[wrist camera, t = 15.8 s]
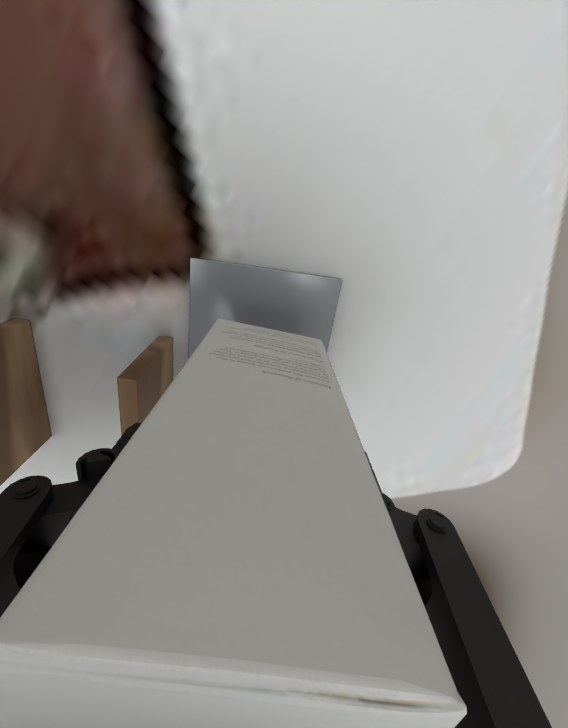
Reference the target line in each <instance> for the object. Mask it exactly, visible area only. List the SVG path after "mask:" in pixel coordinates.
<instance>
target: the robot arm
mask: <svg viewBox="0 0 568 728" xmlns="http://www.w3.org/2000/svg"><path fill="white" fill-rule="evenodd" d="M141 424H142V423H137V422H136V423H135V424H133V425H132V426H130V427H129V428H127V429H126V430H125V432H124V433H123V435H122V436H121V438H120V439H119V440H118V442H117V443H116V445H115V446H114V447H113V448H112V449H109V448H100V449H96V450H92V451H90V452H87V453H85V454H84V455H83V456H81V457H80V458H79V459H78V461H77V462H76V469H77V475H78V481H76V482H71V483H65V484H58V485H52V483H51V480H50V479H49V478H47V477H45V476H29V477H26V478H23V479H20V480H18V481H16V482H14V483H12V484H11V485H10V486H8V487H7V488H6V489H5V490H4V491H3V492H2V493H1V494H0V617H1V616H2V615H3V613H4V612H5V610H6V609H7V608H8V606H9V605H10V604H11V602H12V601H13V600H14V598H15V597H16V595H17V594H18V593H19V591H20V590H21V589H22V587H23V586H24V585H25V583H26V582H27V580H28V579H29V578H30V576H31V575H32V574H33V572H34V571H35V570H36V568H37V567H38V565H39V564H40V563H41V561H42V560H43V559H44V557H45V556H46V554H47V553H48V552H49V550H50V549H51V548H52V546H53V545H54V543H55V542H56V541H57V539H58V538H59V536H60V535H61V534H62V532H63V531H64V529H65V528H66V527H67V525H68V524H69V523H70V521H71V520H72V518H73V517H74V516H75V514H76V513H77V511H78V510H79V509H80V507H81V506H82V505H83V503H84V502H85V501H86V499H87V498H88V497H89V495H90V494H91V492H92V491H93V490H94V488H95V487H96V486H97V484H98V483H99V482H100V480H101V479H102V477H103V476H104V475H105V473H106V472H107V471H108V469H109V468H110V466H111V465H112V464H113V462H114V461H115V460H116V458H117V457H118V455H119V454H120V453H121V451H122V450H123V449H124V447H125V446H126V444H127V443H128V442H129V440H130V439H131V437H132V436H133V435H134V433H135V432H136V431H137V429H138V428H139V427H140V425H141ZM365 454H366V457H367V459H368V456H367V453H366V452H365ZM368 462H369V459H368ZM369 464H370V462H369ZM370 467H371V470H372V473H373V475H374V478H375V480H376V483H377V485H378V488H379V490H380V493H381V496H382V498H383V501H384V504H385V506H386V508H387V511H388V513H389V516H390V518H391V521H392V524H393V526H394V529H395V532H396V534H397V537H398V540H399V542H400V545H401V548H402V550H403V553H404V555H405V558H406V561H407V563H408V566H409V568H410V571H411V573H412V576H413V578H414V581H415V584H416V586H417V589H418V591H419V594H420V596H421V599H422V601H423V604H424V607H425V609H426V612H427V614H428V617H429V620H430V622H431V625H432V627H433V630H434V633H435V635H436V638H437V640H438V643H439V646H440V648H441V651H442V653H443V656H444V659H445V661H446V664H447V666H448V669H449V671H450V674H451V676H452V679H453V682H454V684H455V687H456V689H457V692H458V694H459V695H460V697H461V698H462V700H463V702H464V703H465V705H466V708H467V714H466V715H465V716H464V717H463V719H462V720H461V721H460V722H459V723H458V724H457V725H456V726H455V727H454V728H552V727H551V725H550V723H549V721H548V719H547V717H546V715H545V713H544V711H543V709H542V707H541V705H540V702H539V701H538V698H537V696H536V694H535V693H534V690H533V688H532V686H531V684H530V682H529V680H528V678H527V676H526V674H525V672H524V669H523V667H522V665H521V663H520V661H519V659H518V657H517V655H516V653H515V651H514V649H513V647H512V645H511V643H510V641H509V639H508V636H507V635H506V632H505V630H504V628H503V626H502V624H501V622H500V620H499V618H498V616H497V614H496V612H495V610H494V608H493V606H492V604H491V601H490V600H489V597H488V595H487V593H486V591H485V589H484V587H483V585H482V583H481V581H480V579H479V577H478V575H477V573H476V571H475V568H474V566H473V565H472V562H471V560H470V558H469V556H468V554H467V552H466V550H465V548H464V546H463V544H462V542H461V540H460V538H459V536H458V533H457V531H456V529H455V527H454V526H453V524H452V523H451V521H450V520H449V519H448V518H446V517H445V516H444V515H442V514H441V513H439V512H438V511H435V510H432V509H423V510H421V511H419V513H418V515H417V516H416V515H413V514H411V513H408V512H405V511H402V510H400V509H398V508H396V507H395V506H394V503H393V502H392V500H391V499H390V498H389V497H388V496H386V495H385V494H383V493H382V492H381V489H380V486H379V484H378V481H377V479H376V476H375V474H374V471H373V469H372V466H371V464H370Z"/></svg>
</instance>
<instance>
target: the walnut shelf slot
mask: <svg viewBox="0 0 568 728" xmlns="http://www.w3.org/2000/svg"><path fill="white" fill-rule="evenodd" d="M172 381H173V338H169V337H161V336H159V337H158V338H157V339H156V340H155V341H154V342H152V343H151V344H150V345H149V346H148V347H147V348H146V349H145V350H144V351H143V352H142V353H141V354H140V355H139V356H138V357H137V358H136V359H135V360H134V361H133V362H132V363H131V364H130V365H129V366H128V367H127V368H126V369H125V370H124V371H123V372H122V373H121V374H120V375H119V376H118V377H117V384H118V396H119V409H120V421H121V434H122V435H123V433H124V432H125V430H126V429H127V428H129V427H130V426H132V425H133V424H135V423H136V422H137V423H143V421H144V420H145V418H146V417H147V416H148V414H149V413H150V412H151V410H152V409H153V407H154V406H155V405H156V403H157V402H158V401H159V399H160V398H161V396H162V395H163V394H164V392H165V391H166V390H167V388H168V387H169V386H170V384H171V383H172ZM51 436H52V435H51V430H50V424H49V419H48V414H47V409H46V404H45V398H44V393H43V388H42V383H41V377H40V372H39V367H38V362H37V356H36V351H35V346H34V341H33V335H32V330H31V325H30V320H24V319H16V318H14V319H11V320H9V321H6V322H3V323H1V324H0V485H2V484H3V483H4V482H5V481H6V480H7V479H8V478H9V477H10V476H11V475H12V474H13V473H14V472H15V471H16V470H17V469H18V468H19V467H20V466H21V465H22V464H23V463H24V462H25V461H26V460H27V459H28V458H29V457H30V456H32V455H33V454H34V453H35V452H36V451H37V450H38V449H39V448H40V447H41V446H42V445H43V444H44V443H45V442H46V441H47V440H48V439H49V438H50V437H51Z"/></svg>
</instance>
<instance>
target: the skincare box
mask: <svg viewBox="0 0 568 728" xmlns="http://www.w3.org/2000/svg"><path fill="white" fill-rule="evenodd" d="M466 714H467V708H466V705H465V703H464V702H463V700H462V698H461V697H460V695H459V694H458V692H457V689H456V687H455V684H454V682H453V679H452V676H451V674H450V671H449V669H448V666H447V664H446V661H445V659H444V656H443V653H442V651H441V648H440V646H439V643H438V640H437V638H436V635H435V633H434V630H433V627H432V625H431V622H430V620H429V617H428V614H427V612H426V609H425V607H424V604H423V601H422V599H421V596H420V594H419V591H418V589H417V586H416V584H415V581H414V578H413V576H412V573H411V571H410V568H409V566H408V563H407V561H406V558H405V555H404V553H403V550H402V548H401V545H400V542H399V540H398V537H397V534H396V532H395V529H394V526H393V524H392V521H391V518H390V516H389V513H388V511H387V508H386V506H385V504H384V501H383V498H382V496H381V493H380V490H379V488H378V485H377V483H376V480H375V478H374V475H373V473H372V470H371V467H370V464H369V462H368V459H367V457H366V454H365V451H364V449H363V446H362V444H361V441H360V439H359V436H358V434H357V431H356V428H355V426H354V423H353V420H352V418H351V415H350V413H349V410H348V407H347V405H346V402H345V399H344V397H343V394H342V392H341V389H340V386H339V384H338V381H337V379H336V376H335V373H334V371H333V368H332V366H331V363H330V361H329V358H328V356H327V353H326V350H325V347H324V345H323V342H322V341H321V340H319V339H315V338H311V337H306V336H301V335H297V334H292V333H287V332H282V331H278V330H273V329H268V328H263V327H258V326H253V325H248V324H243V323H239V322H234V321H229V320H225V319H221V318H218V319H217V320H216V322H215V323H214V325H213V326H212V328H211V329H210V330H209V332H208V333H207V335H206V336H205V338H204V339H203V340H202V342H201V343H200V344H199V346H198V347H197V348H196V350H195V351H194V352H193V354H192V355H191V357H190V358H189V359H188V361H187V362H186V363H185V365H184V366H183V368H182V369H181V370H180V372H179V373H178V375H177V376H176V377H175V379H174V380H173V381H172V383H171V384H170V386H169V387H168V388H167V390H166V391H165V392H164V394H163V395H162V396H161V398H160V399H159V401H158V402H157V403H156V405H155V406H154V407H153V409H152V410H151V412H150V413H149V414H148V416H147V417H146V418H145V420H144V421H143V423H142V424H141V425H140V427H139V428H138V429H137V431H136V432H135V433H134V435H133V436H132V437H131V439H130V440H129V442H128V443H127V444H126V446H125V447H124V449H123V450H122V451H121V453H120V454H119V455H118V457H117V458H116V460H115V461H114V462H113V464H112V465H111V466H110V468H109V469H108V471H107V472H106V473H105V475H104V476H103V477H102V479H101V480H100V482H99V483H98V484H97V486H96V487H95V488H94V490H93V491H92V492H91V494H90V495H89V497H88V498H87V499H86V501H85V502H84V503H83V505H82V506H81V507H80V509H79V510H78V511H77V513H76V514H75V516H74V517H73V518H72V520H71V521H70V523H69V524H68V525H67V527H66V528H65V529H64V531H63V532H62V534H61V535H60V536H59V538H58V539H57V541H56V542H55V543H54V545H53V546H52V548H51V549H50V550H49V552H48V553H47V554H46V556H45V557H44V559H43V560H42V561H41V563H40V564H39V565H38V567H37V568H36V570H35V571H34V572H33V574H32V575H31V576H30V578H29V579H28V580H27V582H26V583H25V585H24V586H23V587H22V589H21V590H20V591H19V593H18V594H17V595H16V597H15V598H14V600H13V601H12V602H11V604H10V605H9V606H8V608H7V609H6V610H5V612H4V613H3V615H2V616H1V617H0V728H454V727H455V726H456V725H457V724H458V723H459V722H460V721H461V720H462V719H463V717H464V716H465V715H466Z"/></svg>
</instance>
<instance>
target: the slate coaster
mask: <svg viewBox="0 0 568 728" xmlns="http://www.w3.org/2000/svg"><path fill="white" fill-rule="evenodd" d="M341 284H342V279H339V278H332V277H325V276H318V275H312V274H305V273H298V272H291V271H284V270H277V269H271V268H264V267H257V266H250V265H243V264H237V263H230V262H223V261H216V260H209V259H202V258H196V257H191V261H190V305H189V348H188V359H189V358H190V357H191V355H192V354H193V352H194V351H195V350H196V348H197V347H198V346H199V344H200V343H201V342H202V340H203V339H204V338H205V336H206V335H207V333H208V332H209V330H210V329H211V328H212V326H213V325H214V323H215V322H216V320H217V319H218V318H221V319H225V320H229V321H234V322H239V323H243V324H248V325H253V326H258V327H263V328H268V329H273V330H278V331H282V332H287V333H292V334H297V335H301V336H306V337H311V338H315V339H319V340H321V341H322V342H323V345H324V347H325V350H326V353H327V348H328V344H329V339H330V335H331V330H332V325H333V321H334V316H335V311H336V307H337V302H338V298H339V293H340V288H341Z"/></svg>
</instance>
